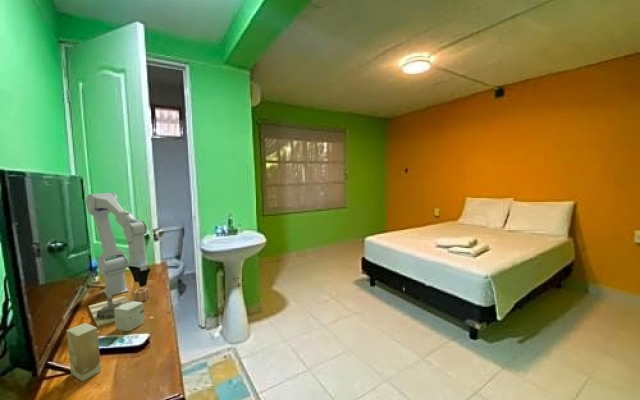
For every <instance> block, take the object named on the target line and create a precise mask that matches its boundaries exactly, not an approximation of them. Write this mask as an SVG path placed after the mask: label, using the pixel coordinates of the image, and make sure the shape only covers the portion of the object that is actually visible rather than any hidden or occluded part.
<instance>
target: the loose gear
mask: <svg viewBox="0 0 640 400" xmlns="http://www.w3.org/2000/svg"><path fill="white" fill-rule="evenodd" d="M132 293H133V294H132V296H133V297H132V298H133V301H135V302H142V303H143V302H145V301H146V302H147V301H148V300H149V299H150V297H151V296H150V289H149V287H148V286H145V287H140V288H136V289H135V290H133V291H132Z"/></svg>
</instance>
